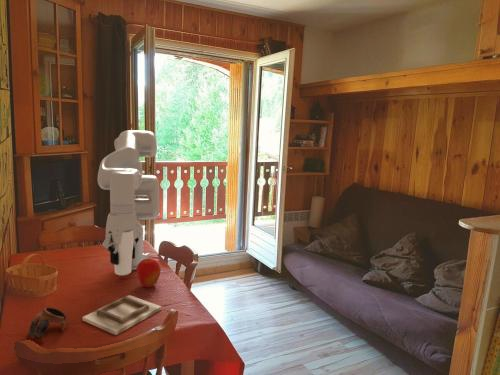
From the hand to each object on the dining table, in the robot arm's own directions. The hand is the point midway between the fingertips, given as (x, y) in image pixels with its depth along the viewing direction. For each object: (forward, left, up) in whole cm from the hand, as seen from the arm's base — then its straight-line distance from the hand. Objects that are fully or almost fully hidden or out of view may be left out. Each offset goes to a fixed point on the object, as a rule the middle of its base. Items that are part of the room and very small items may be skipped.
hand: (122, 260), depth 123 cm
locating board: (0, 0, -20) cm, 20 cm away
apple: (-22, -10, -20) cm, 31 cm away
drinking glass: (0, 0, -5) cm, 5 cm away
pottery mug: (+21, -11, -20) cm, 31 cm away
